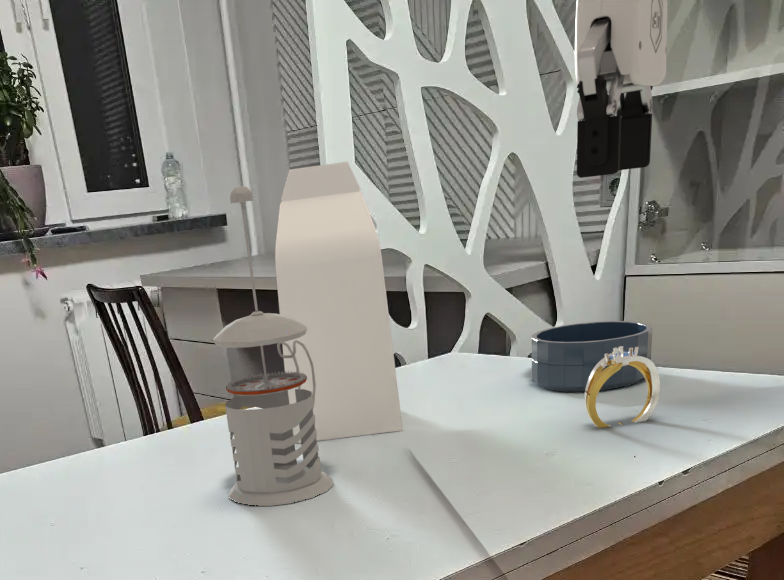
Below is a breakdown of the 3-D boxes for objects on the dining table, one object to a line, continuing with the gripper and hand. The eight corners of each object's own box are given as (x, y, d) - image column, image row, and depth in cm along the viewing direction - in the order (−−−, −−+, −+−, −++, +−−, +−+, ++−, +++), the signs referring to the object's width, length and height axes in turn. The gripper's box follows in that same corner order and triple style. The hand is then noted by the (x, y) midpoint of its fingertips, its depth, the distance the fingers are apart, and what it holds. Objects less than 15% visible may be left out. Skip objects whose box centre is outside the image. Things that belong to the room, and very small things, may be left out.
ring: (591, 443, 84) (593, 355, 80) (578, 435, 87) (579, 349, 83) (664, 433, 84) (669, 344, 81) (649, 425, 87) (653, 339, 84)
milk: (291, 443, 97) (256, 173, 86) (291, 419, 107) (260, 174, 96) (402, 430, 97) (383, 155, 85) (392, 406, 107) (373, 159, 95)
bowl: (622, 362, 113) (623, 316, 111) (669, 382, 101) (672, 331, 99) (518, 377, 113) (517, 331, 110) (553, 398, 101) (553, 347, 99)
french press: (206, 502, 82) (153, 197, 71) (275, 464, 91) (237, 187, 80) (298, 509, 77) (256, 182, 66) (361, 468, 86) (334, 173, 75)
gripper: (646, -118, 60) (634, 173, 67) (699, -80, 72) (684, 161, 80) (534, -88, 63) (535, 184, 71) (604, -57, 76) (598, 171, 84)
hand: (614, 172), depth 75 cm, fingers open, 9 cm apart
